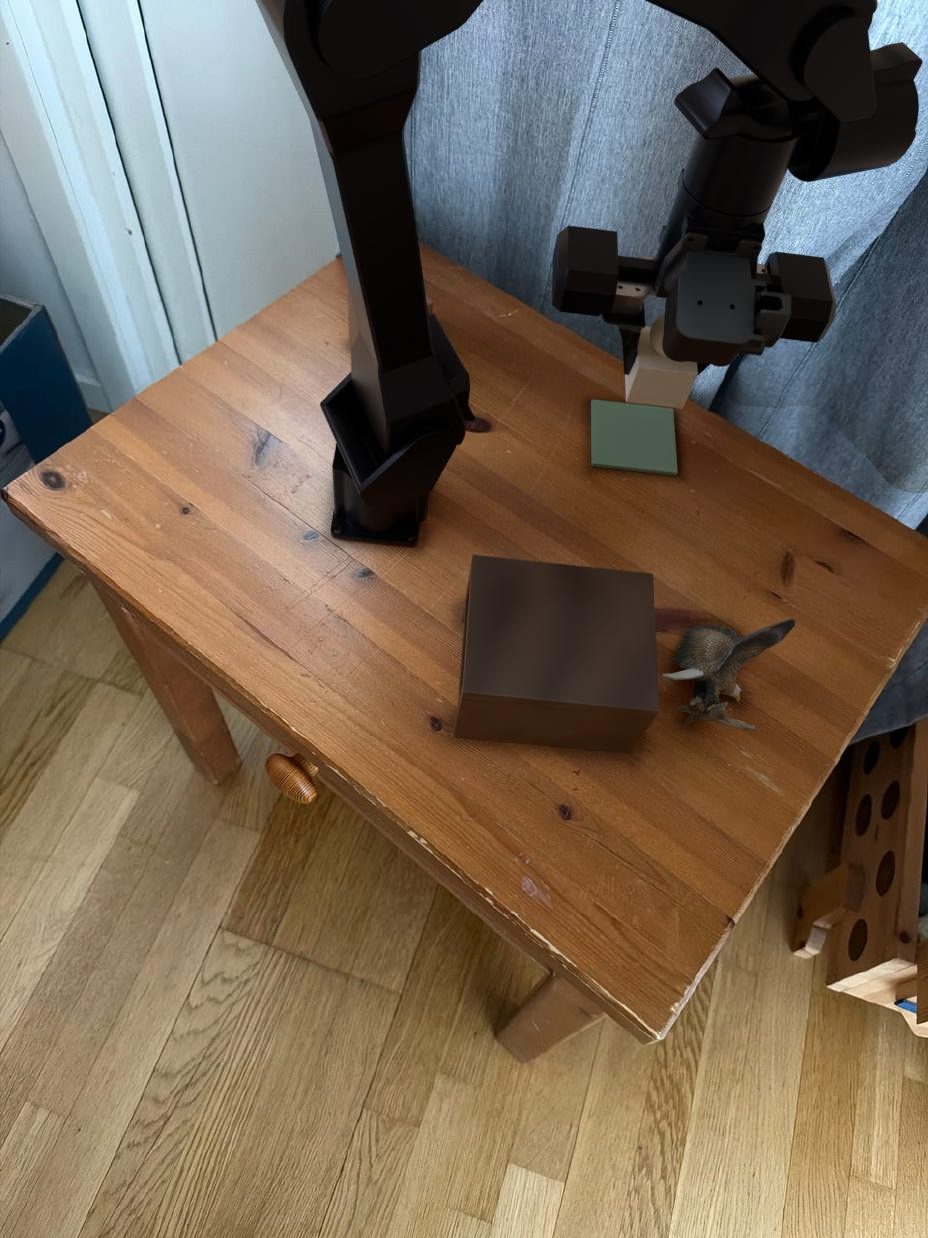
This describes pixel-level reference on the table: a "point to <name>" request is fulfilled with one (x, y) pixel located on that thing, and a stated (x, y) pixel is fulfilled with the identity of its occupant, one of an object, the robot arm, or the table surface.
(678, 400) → the cream cube with ball
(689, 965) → the table surface
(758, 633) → the eagle figurine
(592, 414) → the coaster
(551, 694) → the dark brown wooden box
